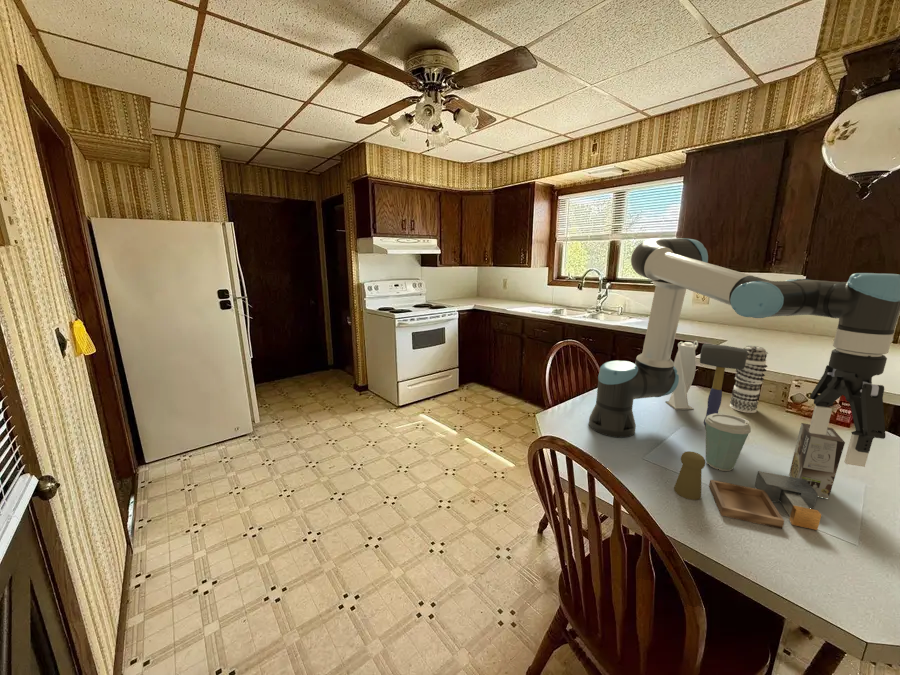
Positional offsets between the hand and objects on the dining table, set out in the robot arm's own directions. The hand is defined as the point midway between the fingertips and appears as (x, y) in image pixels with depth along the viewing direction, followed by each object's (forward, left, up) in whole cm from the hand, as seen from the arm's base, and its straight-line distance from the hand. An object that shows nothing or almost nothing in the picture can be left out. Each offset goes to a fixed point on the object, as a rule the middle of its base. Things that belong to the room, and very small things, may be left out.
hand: (834, 447), depth 78 cm
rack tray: (-12, +3, -20) cm, 24 cm away
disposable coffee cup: (-13, +22, -21) cm, 33 cm away
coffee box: (+6, +19, -21) cm, 29 cm away
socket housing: (-2, +11, -20) cm, 23 cm away
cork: (-24, +4, -21) cm, 32 cm away
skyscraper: (-17, +64, -21) cm, 69 cm away
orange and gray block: (-2, +5, -20) cm, 21 cm away
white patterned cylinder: (+6, +72, -21) cm, 75 cm away
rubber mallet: (-10, +48, -21) cm, 53 cm away
